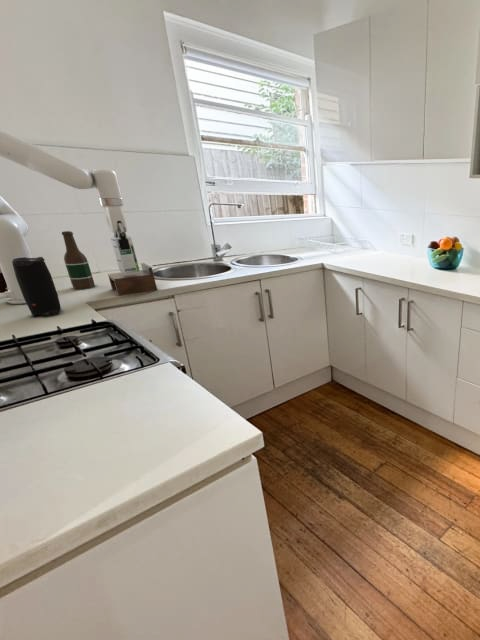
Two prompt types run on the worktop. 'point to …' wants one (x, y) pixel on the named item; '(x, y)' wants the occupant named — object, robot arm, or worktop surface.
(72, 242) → the beer bottle
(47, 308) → the portable speaker
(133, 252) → the syrup box
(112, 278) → the brown wooden box
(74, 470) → the worktop surface
